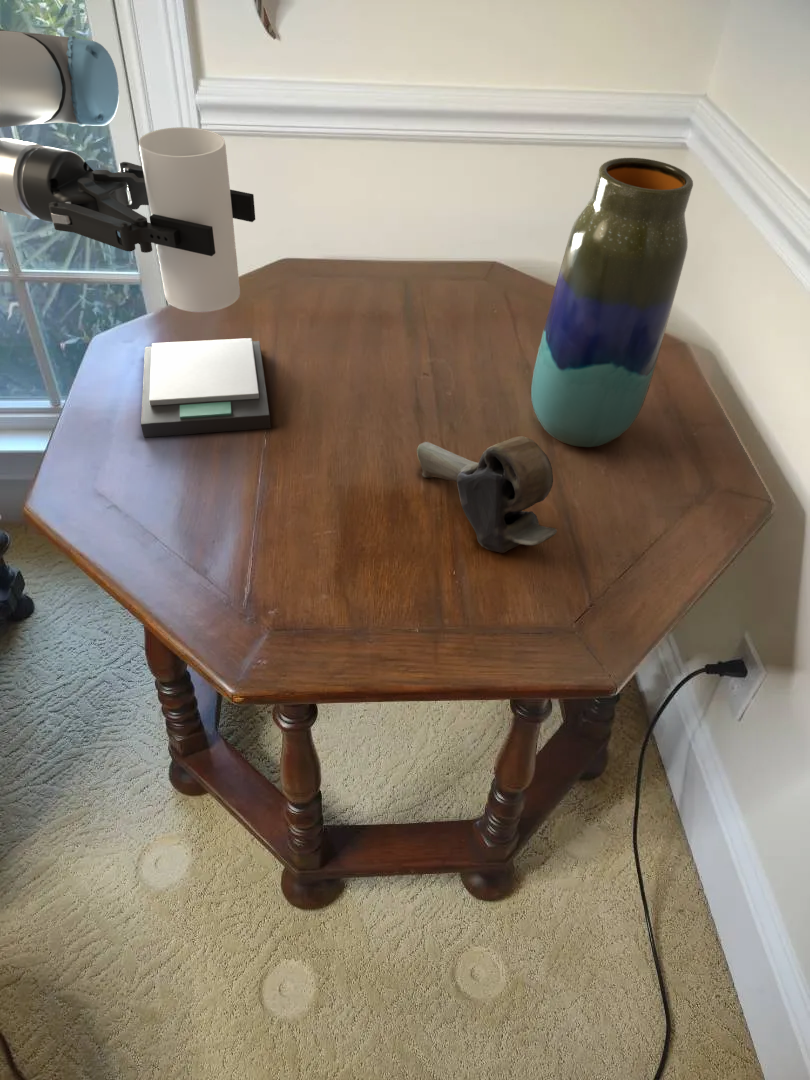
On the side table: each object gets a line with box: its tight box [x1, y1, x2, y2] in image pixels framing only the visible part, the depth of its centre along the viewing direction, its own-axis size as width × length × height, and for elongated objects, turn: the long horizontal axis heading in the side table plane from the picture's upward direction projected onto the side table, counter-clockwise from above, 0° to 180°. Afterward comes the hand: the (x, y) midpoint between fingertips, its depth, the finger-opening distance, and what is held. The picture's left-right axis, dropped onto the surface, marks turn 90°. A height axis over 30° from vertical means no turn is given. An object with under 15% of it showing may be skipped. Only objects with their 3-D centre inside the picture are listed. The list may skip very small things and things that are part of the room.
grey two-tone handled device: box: [416, 435, 558, 554], centre depth 82 cm, size 21×6×12 cm, turn 35°
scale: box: [140, 337, 272, 438], centre depth 98 cm, size 15×17×3 cm
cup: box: [138, 126, 241, 313], centre depth 80 cm, size 8×8×16 cm
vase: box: [530, 157, 694, 448], centre depth 87 cm, size 14×14×31 cm
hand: (233, 224), depth 79 cm, fingers closed on cup, 8 cm apart
